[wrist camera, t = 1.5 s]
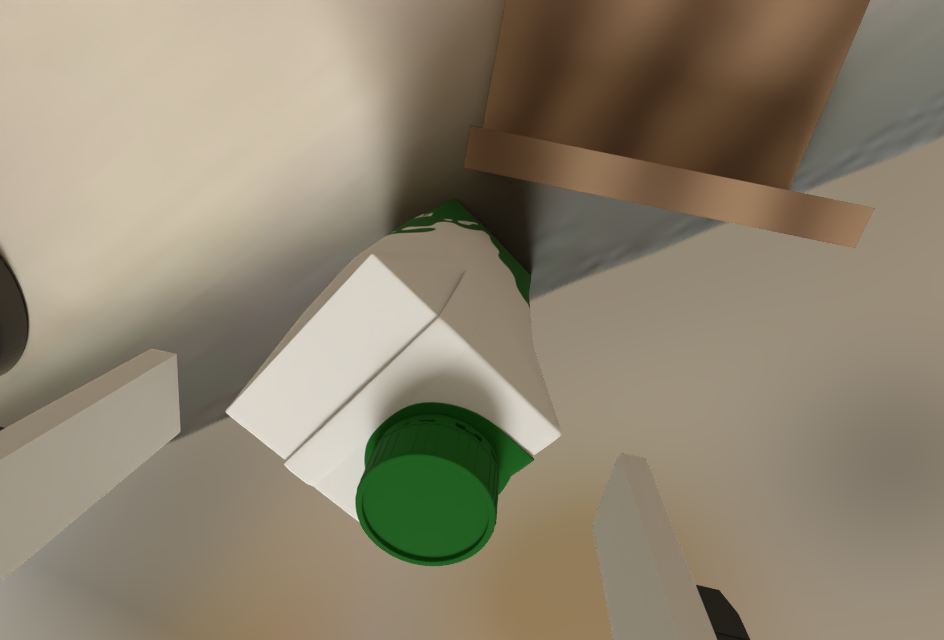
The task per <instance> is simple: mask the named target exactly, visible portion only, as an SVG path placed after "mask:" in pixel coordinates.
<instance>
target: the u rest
mask: <svg viewBox="0 0 944 640" xmlns="http://www.w3.org/2000/svg"><path fill="white" fill-rule="evenodd" d="M869 2H870V0H506V2H505V7H504V13H503V18H502V23H501V29H500V34H499V40H498V45H497V51H496V56H495V62H494V67H493V73H492V78H491V83H490V89H489V94H488V100H487V105H486V111H485V116H484V122H483V127H482V128H481V127H476V126H471V127H470V133H469V139H468V145H467V150H466V156H465V162H464V168H468V169H473V170H478V171H483V172H488V173H493V174H498V175H502V176H507V177H512V178H517V179H522V180H527V181H532V182H536V183H541V184H546V185H551V186H556V187H561V188H566V189H570V190H575V191H580V192H585V193H590V194H595V195H600V196H604V197H609V198H614V199H619V200H624V201H629V202H633V203H638V204H643V205H648V206H653V207H658V208H663V209H667V210H672V211H677V212H682V213H687V214H692V215H697V216H701V217H706V218H711V219H716V220H721V221H726V222H731V223H735V224H740V225H745V226H750V227H755V228H760V229H765V230H770V231H774V232H779V233H784V234H789V235H794V236H799V237H803V238H808V239H813V240H818V241H823V242H828V243H833V244H837V245H843V246H847V247H852V248H855V247H856V245H857V243H858V241H859V239H860V237H861V235H862V233H863V231H864V229H865V227H866V225H867V223H868V221H869V219H870V217H871V215H872V213H873V211H874V209H875V208H872V207H867V206H862V205H858V204H853V203H848V202H843V201H837V200H833V199H828V198H823V197H818V196H813V195H809V194H804V193H799V192H794V191H789V188H790V186H791V184H792V181H793V179H794V177H795V174H796V172H797V170H798V167H799V165H800V163H801V160H802V158H803V156H804V153H805V151H806V149H807V146H808V144H809V142H810V139H811V137H812V135H813V132H814V130H815V128H816V125H817V123H818V121H819V118H820V116H821V114H822V111H823V109H824V107H825V104H826V102H827V100H828V97H829V95H830V93H831V90H832V88H833V86H834V83H835V81H836V79H837V76H838V74H839V72H840V69H841V67H842V65H843V62H844V60H845V58H846V55H847V53H848V51H849V48H850V46H851V44H852V41H853V39H854V37H855V34H856V32H857V30H858V27H859V25H860V23H861V20H862V18H863V16H864V13H865V11H866V9H867V6H868V4H869Z"/></svg>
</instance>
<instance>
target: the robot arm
mask: <svg viewBox="0 0 944 640" xmlns="http://www.w3.org/2000/svg"><path fill="white" fill-rule="evenodd" d="M26 339H27V318H26V312H25V308H24V304H23V301H22V298H21V295H20V292H19V290H18V288H17V285H16V283H15V281H14V279H13V277H12V276H11V274H10V272H9V270H8V269H7V267H6V266H5V264H4V263H3V261H2V260H1V259H0V376H1V375H3V374H5V373H6V372H8V371H9V370H10V369H11V368H12V367H13V366H14V365H15V364H16V363H17V362H18V360H19V359H20V357H21V355H22V353H23V351H24V347H25V344H26ZM178 433H180V413H179V393H178V373H177V354H174V353H170V352H165V351H161V350H156V349H152V348H151V349H150V350H148V351H146V352H144V353H142V354H140V355H139V356H137V357H135V358H133V359H131V360H129V361H128V362H126V363H124V364H122V365H120V366H118V367H117V368H115V369H113V370H111V371H109V372H107V373H106V374H104V375H102V376H100V377H98V378H96V379H95V380H93V381H91V382H89V383H87V384H85V385H84V386H82V387H80V388H78V389H76V390H74V391H72V392H71V393H69V394H67V395H65V396H63V397H61V398H60V399H58V400H56V401H54V402H52V403H50V404H49V405H47V406H45V407H43V408H41V409H39V410H38V411H36V412H34V413H32V414H30V415H28V416H27V417H25V418H23V419H21V420H19V421H17V422H16V423H14V424H12V425H10V426H8V427H6V428H3V427H0V582H1V581H2V580H4V579H5V578H6V577H7V576H8V575H9V574H11V573H12V572H13V571H14V570H16V569H17V568H18V567H19V566H20V565H22V564H23V563H24V562H25V561H26V560H28V559H29V558H30V557H31V556H32V555H33V554H35V553H36V552H37V551H38V550H40V549H41V548H42V547H43V546H44V545H45V544H47V543H48V542H49V541H50V540H51V539H53V538H54V537H55V536H56V535H58V534H59V533H60V532H61V531H62V530H63V529H65V528H66V527H67V526H68V525H70V524H71V523H72V522H73V521H74V520H75V519H77V518H78V517H79V516H80V515H81V514H83V513H84V512H85V511H86V510H87V509H89V508H90V507H91V506H92V505H93V504H95V503H96V502H97V501H98V500H99V499H100V498H102V497H103V496H104V495H105V494H107V493H108V492H109V491H110V490H111V489H112V488H114V487H115V486H116V485H117V484H118V483H120V482H121V481H122V480H123V479H125V478H126V477H127V476H128V475H129V474H131V473H132V472H133V471H134V470H135V469H137V468H138V467H139V466H140V465H141V464H142V463H144V462H145V461H146V460H147V459H149V458H150V457H151V456H152V455H153V454H155V453H156V452H157V451H158V450H159V449H161V448H162V447H163V446H164V445H165V444H166V443H168V442H169V441H170V440H171V439H172V438H174V437H175V436H176V435H177V434H178ZM592 528H593V533H594V539H595V544H596V549H597V555H598V560H599V566H600V571H601V577H602V583H603V588H604V594H605V599H606V605H607V610H608V616H609V621H610V627H611V632H612V637H613V640H750V638H749V636H748V634H747V632H746V629H745V627H744V625H743V623H742V621H741V619H740V617H739V615H738V613H737V612H736V611H735V609H734V608H733V607H732V606H731V604H730V603H729V602H728V601H727V599H726V598H725V597H724V596H723V594H722V593H721V592H720V591H719V590H716V589H712V588H708V587H703V586H699V585H695V582H694V580H693V577H692V574H691V572H690V569H689V567H688V564H687V562H686V559H685V556H684V554H683V551H682V549H681V546H680V544H679V541H678V539H677V536H676V534H675V531H674V529H673V526H672V524H671V521H670V519H669V516H668V514H667V511H666V508H665V506H664V503H663V501H662V498H661V496H660V493H659V490H658V488H657V486H656V483H655V480H654V478H653V475H652V473H651V470H650V468H649V465H648V463H647V460H646V458H642V457H638V456H633V455H629V454H624V453H619V454H618V457H617V460H616V462H615V465H614V468H613V470H612V473H611V476H610V479H609V481H608V484H607V487H606V489H605V492H604V495H603V497H602V500H601V503H600V505H599V508H598V511H597V513H596V516H595V519H594V521H593V524H592Z"/></svg>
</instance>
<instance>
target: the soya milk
mask: <svg viewBox="0 0 944 640" xmlns="http://www.w3.org/2000/svg"><path fill="white" fill-rule="evenodd" d="M530 282H531V276H530V275H529V274H528V272H527V271H526V270H525V269H524V268H523V267H522V266H521V265H520V264H519V263H518V262H517V261H516V259H515V258H514V257H513V256H512V255H511V254H510V253H509V252H508V251H507V250H506V249H505V248H504V247H503V246H502V244H501V243H500V242H499V241H498V240H497V239H496V238H495V237H494V236H493V235H492V234H491V233H490V232H489V231H488V230H487V229H486V228H485V227H484V226H483V225H482V224H481V223H480V222H479V221H478V220H477V219H476V218H475V217H474V216H473V215H472V214H471V213H470V212H469V211H468V210H466V209H465V208H464V207H463V206H462V205H461V204H460V203H459V202H458V201H457V200H456V199H453V200H451V201H449V202H447V203H445V204H443V205H440V206H438V207H436V208H434V209H432V210H430V211H428V212H426V213H424V214H422V215H420V216H418V217H415V218H413V219H411V220H409V221H407V222H406V223H404V224H403V225H401V226H400V227H398V228H397V229H395V230H394V231H392V232H391V233H389V234H388V235H387V236H385V237H384V238H382V239H381V240H379V241H378V242H376V243H375V244H374V245H372V246H371V247H369V248H368V249H366V250H365V251H363V252H362V253H361V254H359V255H358V256H356V257H355V258H354V259H353V260H352V261H350V262H349V263H348V265H347V266H346V267H345V268H344V269H343V270H342V271H341V272H340V273H339V274H338V275H337V276H336V277H335V279H334V280H333V281H332V282H331V283H330V284H329V285H328V286H327V288H326V289H325V290H324V291H323V292H322V293H321V294H320V295H319V296H318V297H317V299H316V300H315V301H314V302H313V303H312V304H311V305H310V306H309V307H308V308H307V309H306V311H305V312H304V313H303V314H302V315H301V317H300V318H299V319H298V320H297V322H296V323H295V324H294V325H293V327H292V328H291V329H290V330H289V332H288V333H287V334H286V335H285V337H284V338H283V339H282V341H281V342H280V343H279V344H278V346H277V347H276V348H275V349H274V351H273V352H272V353H271V355H270V356H269V357H268V358H267V360H266V361H265V362H264V363H263V365H262V366H261V367H260V368H259V370H258V371H257V372H256V373H255V375H254V376H253V377H252V378H251V380H250V381H249V382H248V384H247V385H246V386H245V387H244V389H243V390H242V391H241V392H240V394H239V395H238V396H237V397H236V399H235V400H234V401H233V402H232V404H231V405H230V406H229V407H228V408H227V410H226V411H225V412H226V413H227V414H228V415H229V416H231V417H232V418H233V419H234V420H236V421H237V422H238V423H239V424H240V425H242V426H243V427H244V428H245V429H247V430H248V431H249V432H251V433H252V434H253V435H254V436H256V437H257V438H258V439H259V440H261V441H262V442H263V443H264V444H266V445H267V446H268V447H269V448H271V449H272V450H273V451H274V452H276V453H277V454H278V455H280V456H281V457H282V458H283V459H285V462H284V465H285V466H286V467H287V468H288V469H289V470H290V471H291V472H292V473H294V474H295V475H296V476H297V477H299V478H300V479H301V480H303V481H304V482H305V483H307V484H309V485H312V486H314V487H315V488H316V489H318V490H319V491H320V492H321V493H323V494H324V495H325V496H326V497H328V498H329V499H330V500H331V501H333V502H334V503H335V504H337V505H338V506H339V507H340V508H342V509H343V510H344V511H346V512H347V513H348V514H349V515H351V516H352V517H353V518H354V519H356V520H357V521H358V522H360V524H361V526H362V528H363V530H364V531H365V533H366V534H367V535H368V537H369V538H370V539H371V540H372V541H373V542H374V543H375V544H376V545H377V546H378V547H380V548H381V549H382V550H384V551H386V552H387V553H388V554H390V555H392V556H394V557H396V558H398V559H400V560H403V561H406V562H409V563H413V564H418V565H424V566H443V565H449V564H454V563H458V562H460V561H463V560H465V559H467V558H469V557H471V556H473V555H474V554H476V553H477V552H478V551H480V550H481V549H482V548H483V547H484V546H485V544H486V543H487V542H488V540H489V539H490V537H491V535H492V533H493V531H494V527H495V524H496V517H497V516H496V515H497V501H498V494H500V493H501V491H502V490H503V489H504V487H505V486H506V484H507V482H508V481H509V479H510V477H511V476H512V475H513V474H515V473H516V472H518V471H519V470H521V469H523V468H524V467H525V466H527V465H528V464H529V463H531V462H532V461H533V460H534V458H533V457H532V456H533V455H535V454H536V453H538V452H539V451H540V450H542V449H543V448H545V447H546V446H548V445H549V444H551V443H552V442H553V441H554V440H556V439H557V438H558V437H559V436H561V434H562V432H561V429H560V426H559V423H558V420H557V417H556V414H555V411H554V408H553V405H552V402H551V399H550V396H549V393H548V390H547V387H546V384H545V381H544V378H543V375H542V372H541V369H540V366H539V363H538V359H537V356H536V353H535V350H534V346H533V341H532V330H531V317H530V304H529V289H530Z"/></svg>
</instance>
